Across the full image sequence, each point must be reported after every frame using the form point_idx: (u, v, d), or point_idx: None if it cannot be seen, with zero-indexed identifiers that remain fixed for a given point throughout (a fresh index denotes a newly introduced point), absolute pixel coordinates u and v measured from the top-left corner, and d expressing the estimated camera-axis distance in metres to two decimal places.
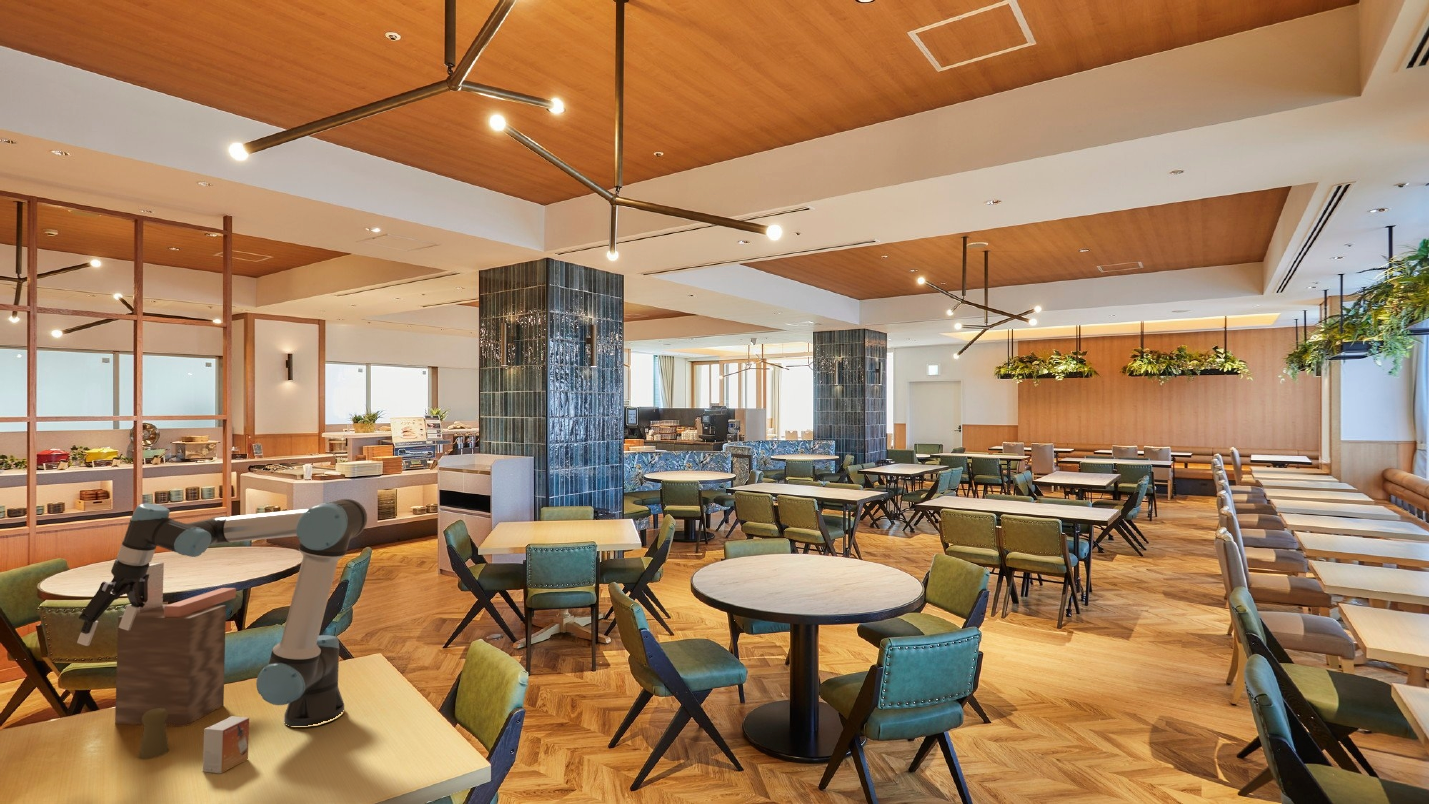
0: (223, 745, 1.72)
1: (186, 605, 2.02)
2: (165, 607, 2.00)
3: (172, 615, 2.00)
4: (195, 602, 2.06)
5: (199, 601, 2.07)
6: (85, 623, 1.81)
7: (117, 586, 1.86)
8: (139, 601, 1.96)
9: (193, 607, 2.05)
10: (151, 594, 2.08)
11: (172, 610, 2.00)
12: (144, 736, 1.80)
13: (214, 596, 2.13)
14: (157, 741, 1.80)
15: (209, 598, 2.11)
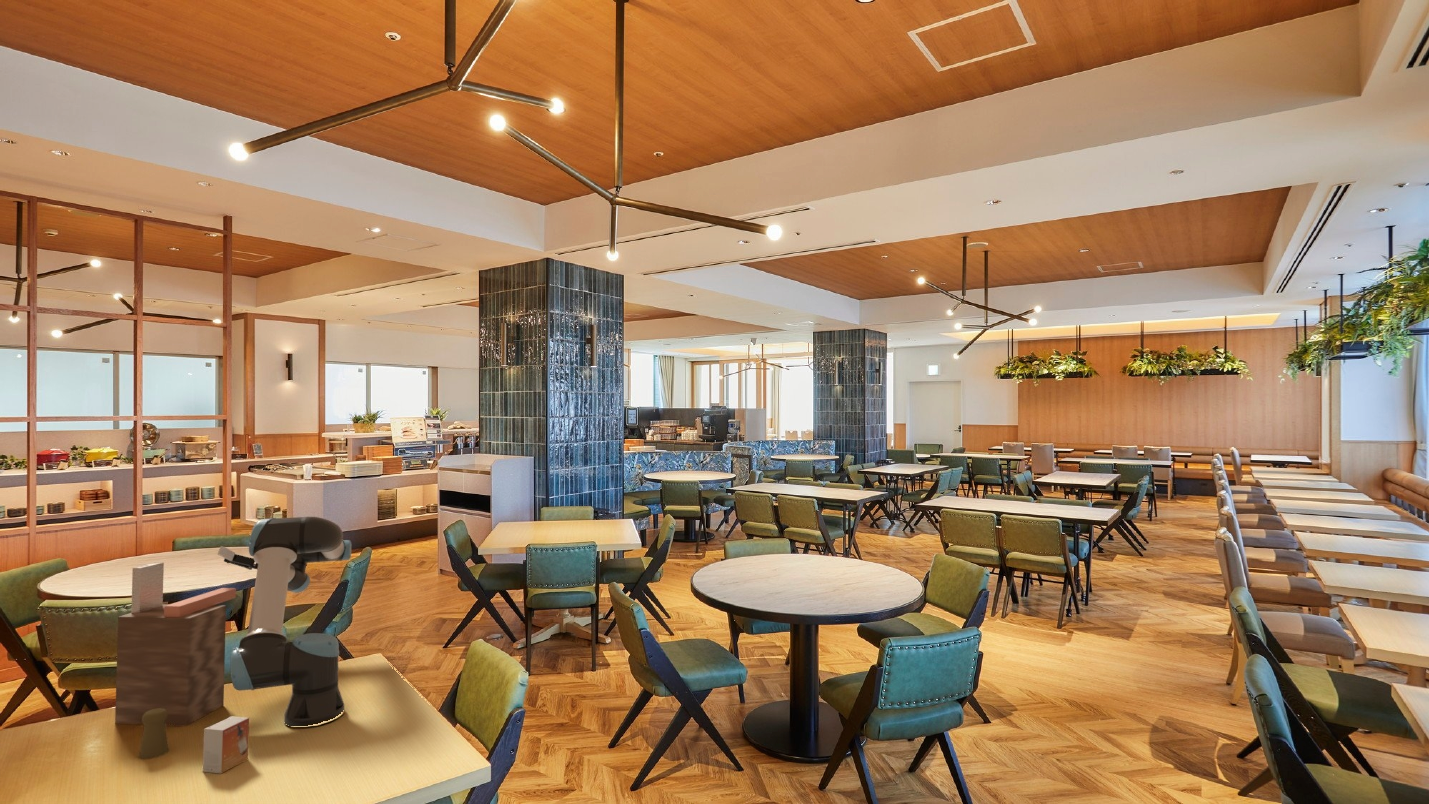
0: (223, 745, 1.72)
1: (186, 605, 2.02)
2: (165, 607, 2.00)
3: (172, 615, 2.00)
4: (195, 602, 2.06)
5: (199, 601, 2.07)
6: None
7: None
8: None
9: (193, 607, 2.05)
10: (151, 594, 2.08)
11: (172, 610, 2.00)
12: (144, 736, 1.80)
13: (214, 596, 2.13)
14: (157, 741, 1.80)
15: (209, 598, 2.11)
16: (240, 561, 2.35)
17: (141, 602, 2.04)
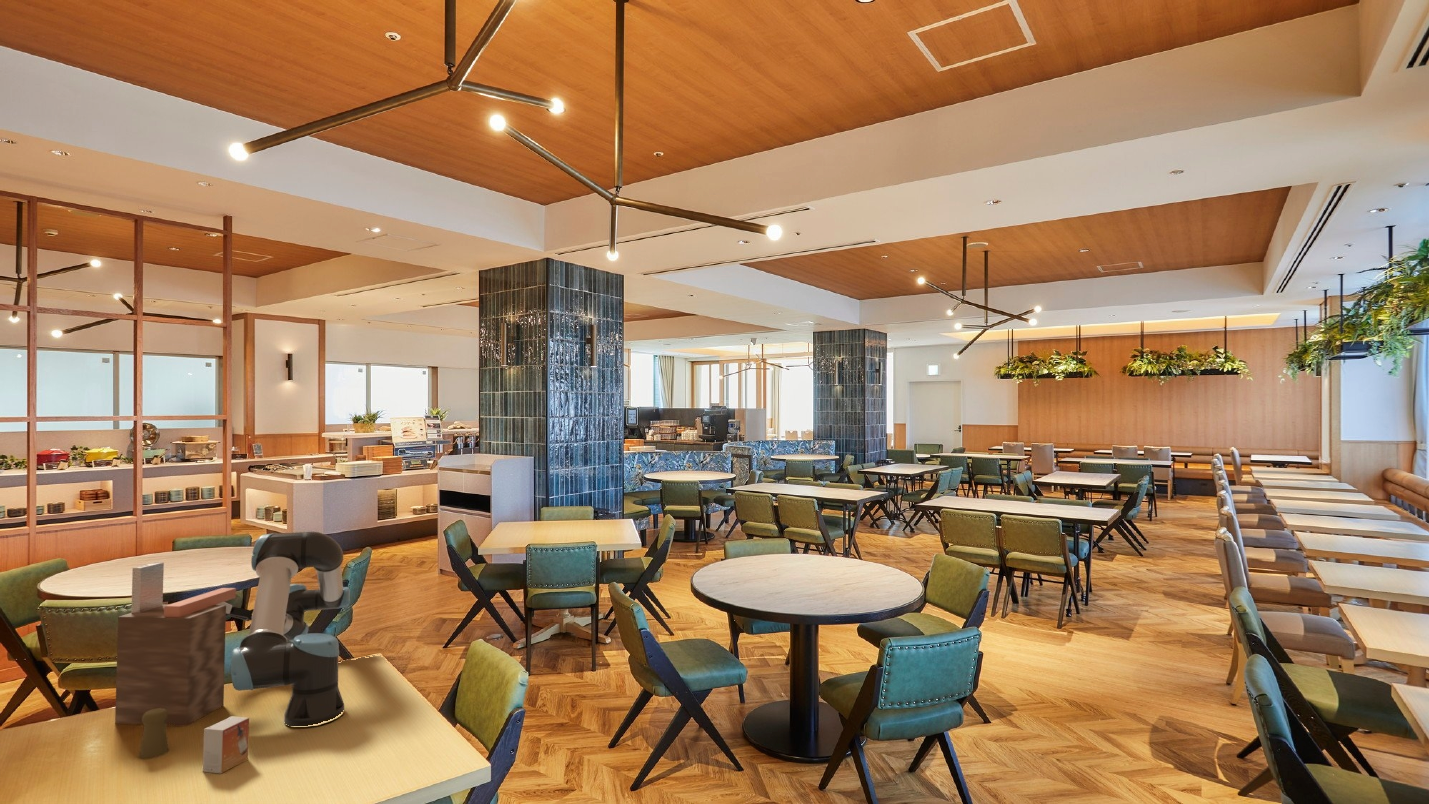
0: (223, 745, 1.72)
1: (186, 605, 2.02)
2: (165, 607, 2.00)
3: (172, 615, 2.00)
4: (195, 602, 2.06)
5: (199, 601, 2.07)
6: None
7: None
8: None
9: (193, 607, 2.05)
10: (151, 594, 2.08)
11: (172, 610, 2.00)
12: (144, 736, 1.80)
13: (214, 596, 2.13)
14: (157, 741, 1.80)
15: (209, 598, 2.11)
16: (237, 614, 2.34)
17: (141, 602, 2.04)
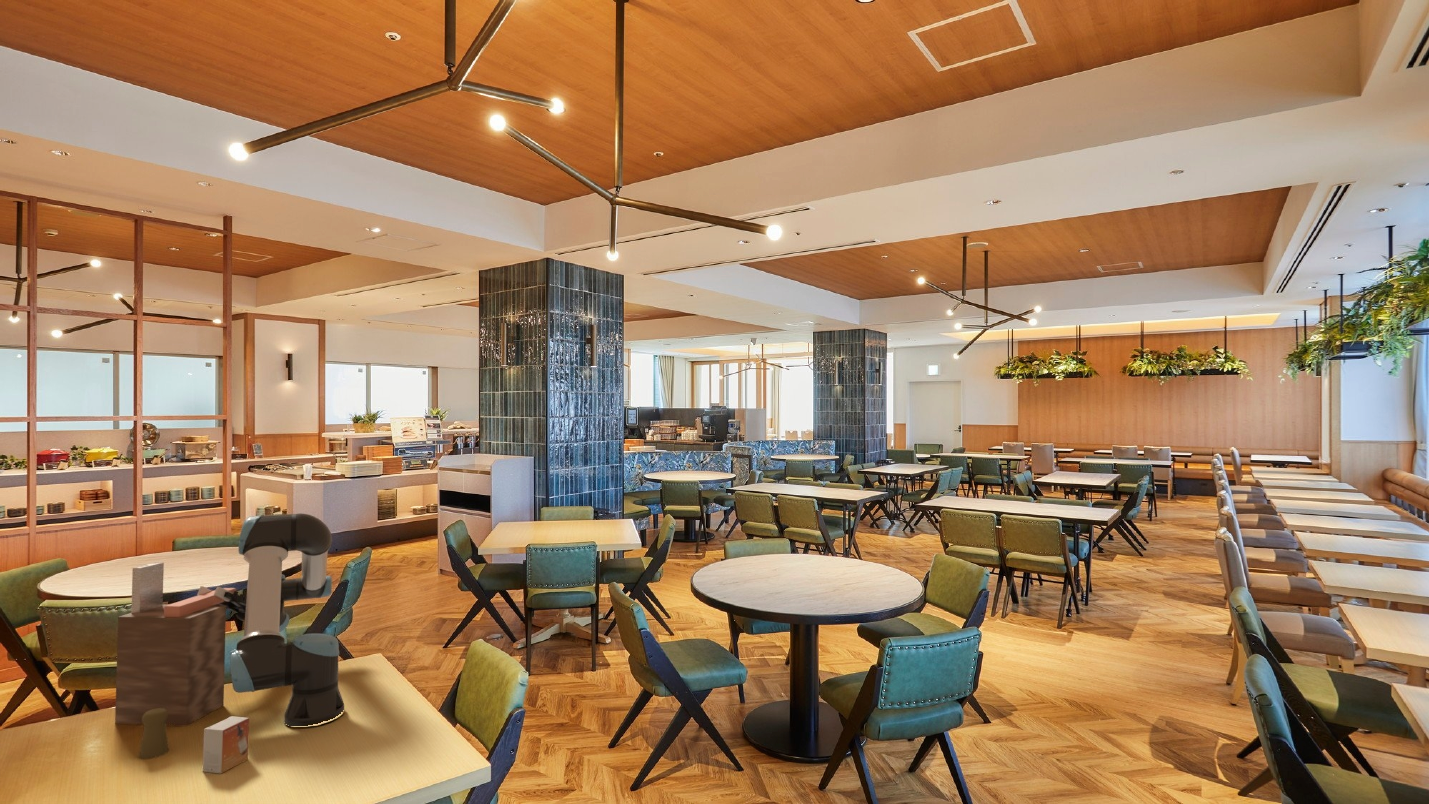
0: (223, 745, 1.72)
1: (186, 605, 2.02)
2: (165, 607, 2.00)
3: (172, 615, 2.00)
4: (195, 602, 2.06)
5: (199, 601, 2.07)
6: None
7: None
8: None
9: (193, 607, 2.05)
10: (151, 594, 2.08)
11: (172, 610, 2.00)
12: (144, 736, 1.80)
13: (214, 596, 2.13)
14: (157, 741, 1.80)
15: (209, 598, 2.11)
16: None
17: (141, 602, 2.04)
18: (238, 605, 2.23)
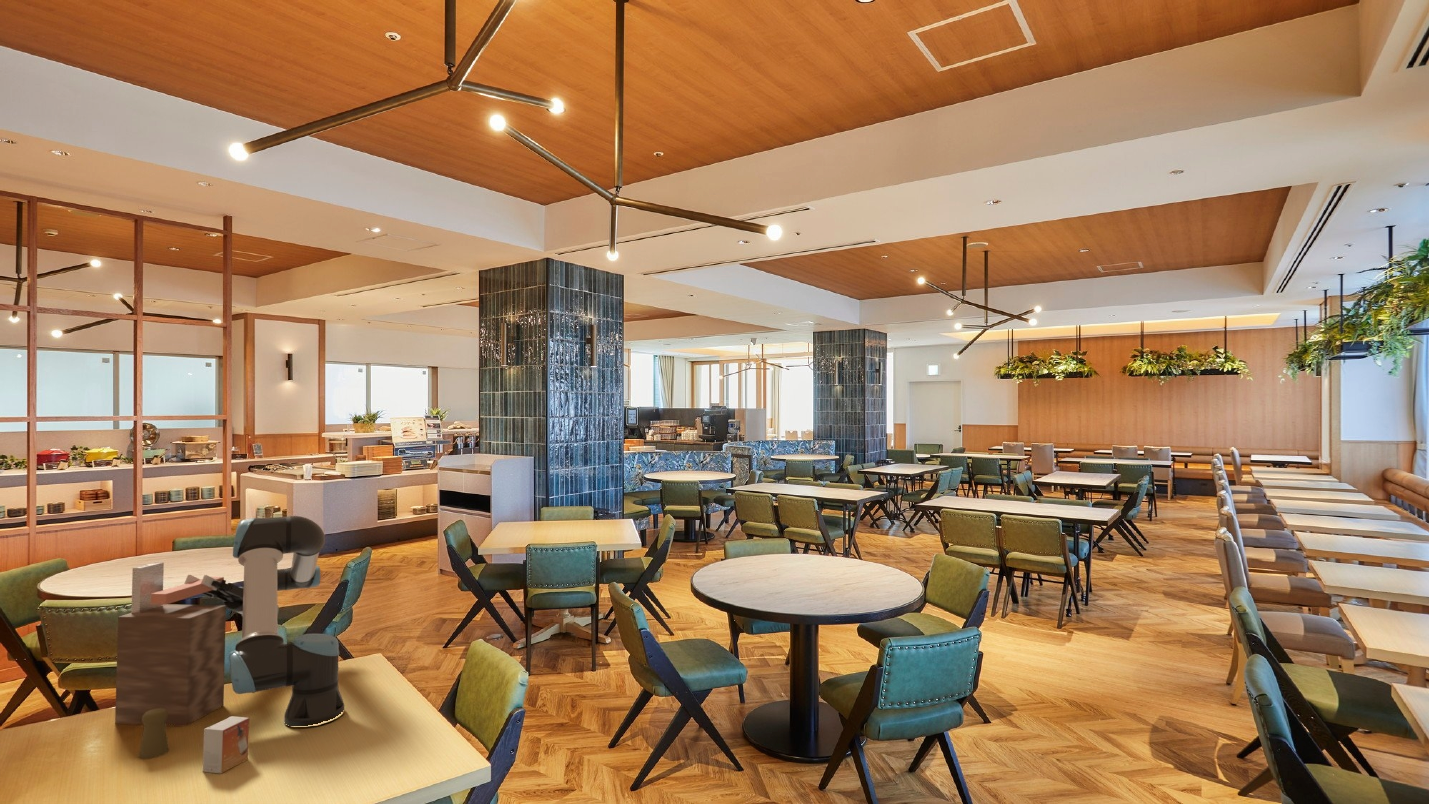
0: (223, 745, 1.72)
1: (172, 593, 2.03)
2: (151, 595, 2.01)
3: (158, 603, 2.01)
4: (182, 590, 2.07)
5: (186, 589, 2.08)
6: None
7: None
8: None
9: (180, 595, 2.06)
10: None
11: (158, 597, 2.01)
12: (144, 736, 1.80)
13: (201, 584, 2.14)
14: (157, 741, 1.80)
15: (196, 586, 2.12)
16: (208, 591, 2.22)
17: (141, 602, 2.04)
18: (226, 594, 2.23)
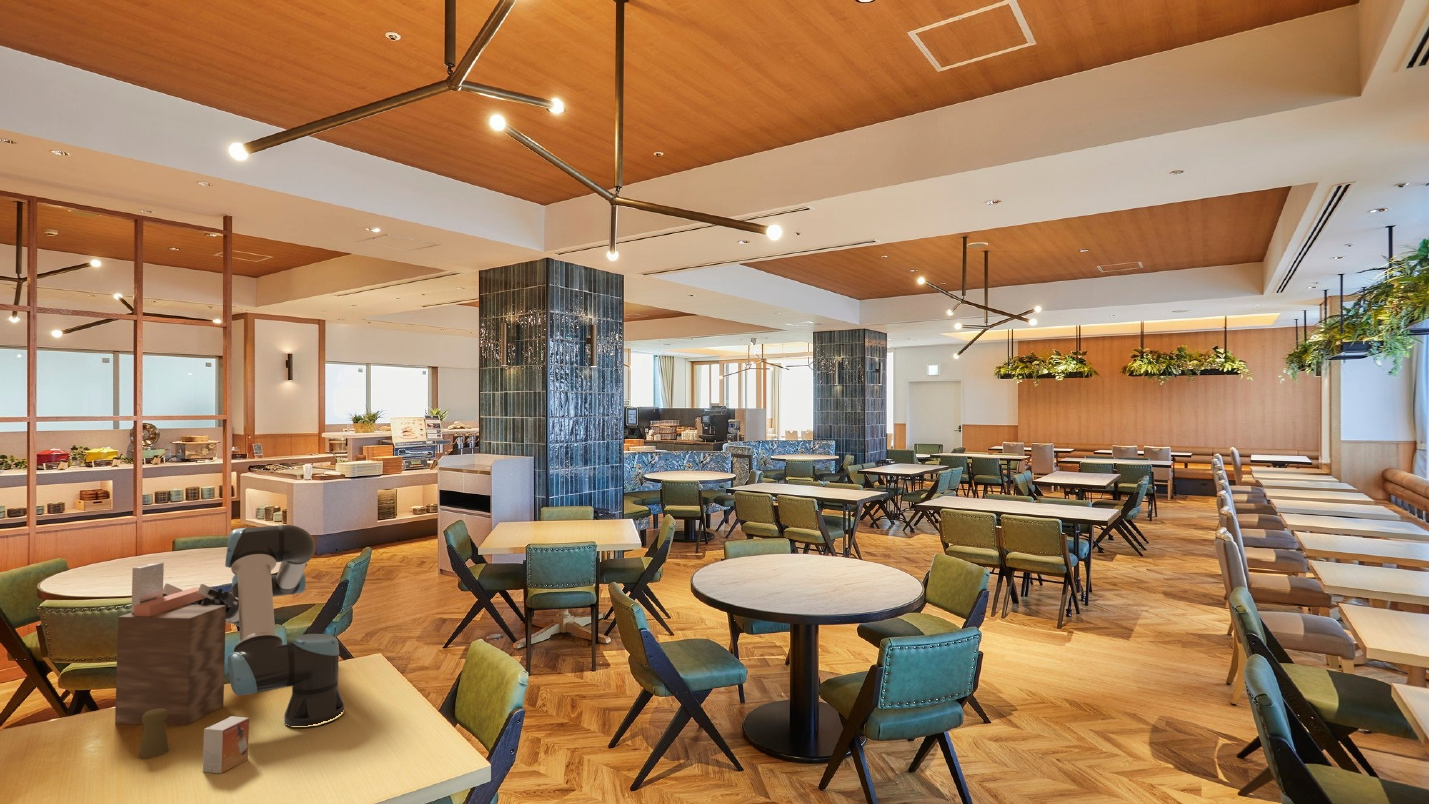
0: (223, 745, 1.72)
1: (156, 604, 2.03)
2: (135, 606, 2.01)
3: (142, 614, 2.01)
4: (166, 601, 2.06)
5: (170, 600, 2.08)
6: None
7: None
8: None
9: (164, 606, 2.06)
10: (151, 594, 2.08)
11: (142, 609, 2.01)
12: (144, 736, 1.80)
13: (186, 595, 2.14)
14: (157, 741, 1.80)
15: (180, 597, 2.12)
16: None
17: (141, 602, 2.04)
18: (217, 602, 2.24)
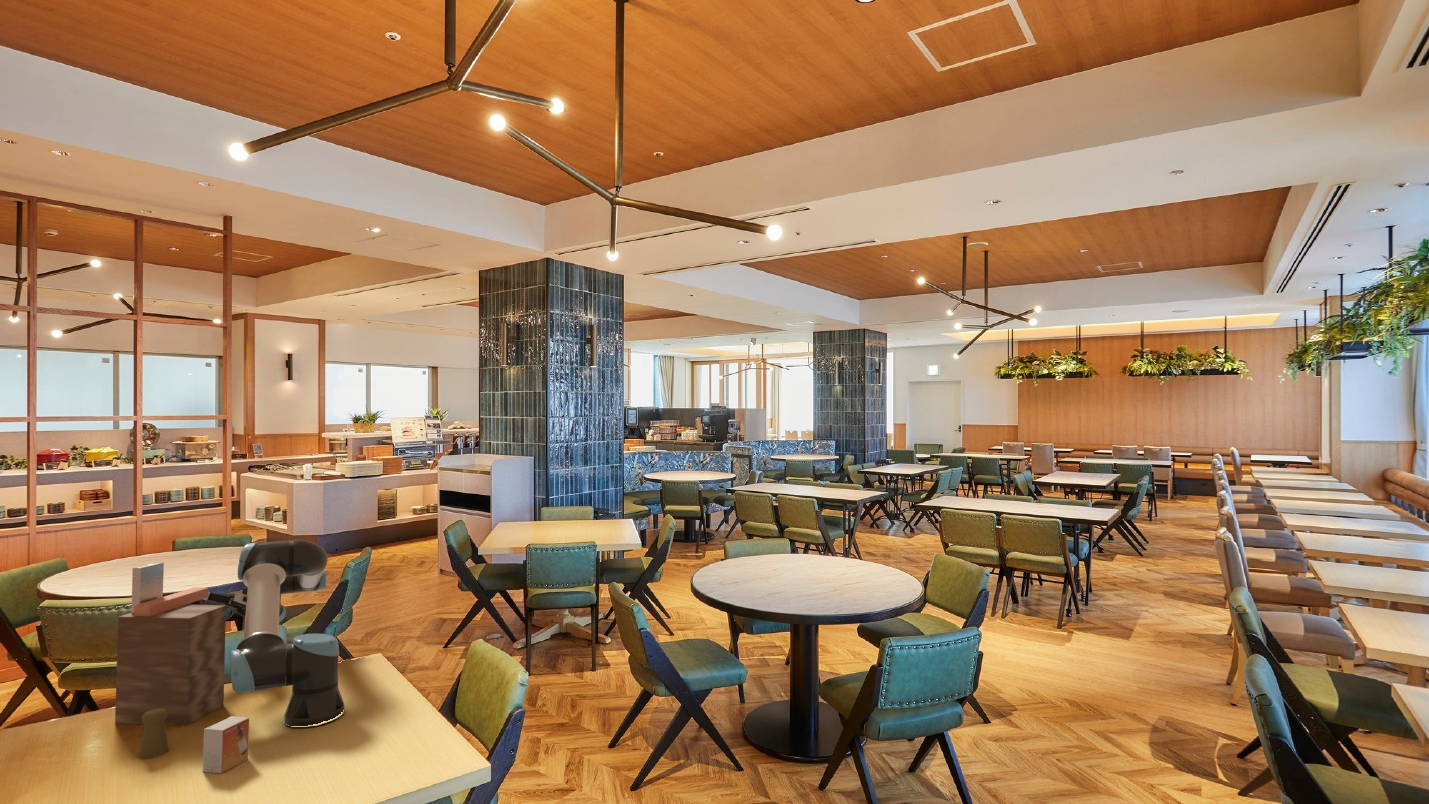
0: (223, 745, 1.72)
1: (156, 604, 2.03)
2: (135, 606, 2.01)
3: (142, 614, 2.01)
4: (166, 601, 2.06)
5: (170, 600, 2.08)
6: None
7: None
8: None
9: (164, 606, 2.06)
10: (151, 594, 2.08)
11: (142, 609, 2.01)
12: (144, 736, 1.80)
13: (186, 595, 2.14)
14: (157, 741, 1.80)
15: (180, 597, 2.12)
16: (215, 600, 2.35)
17: (141, 602, 2.04)
18: None
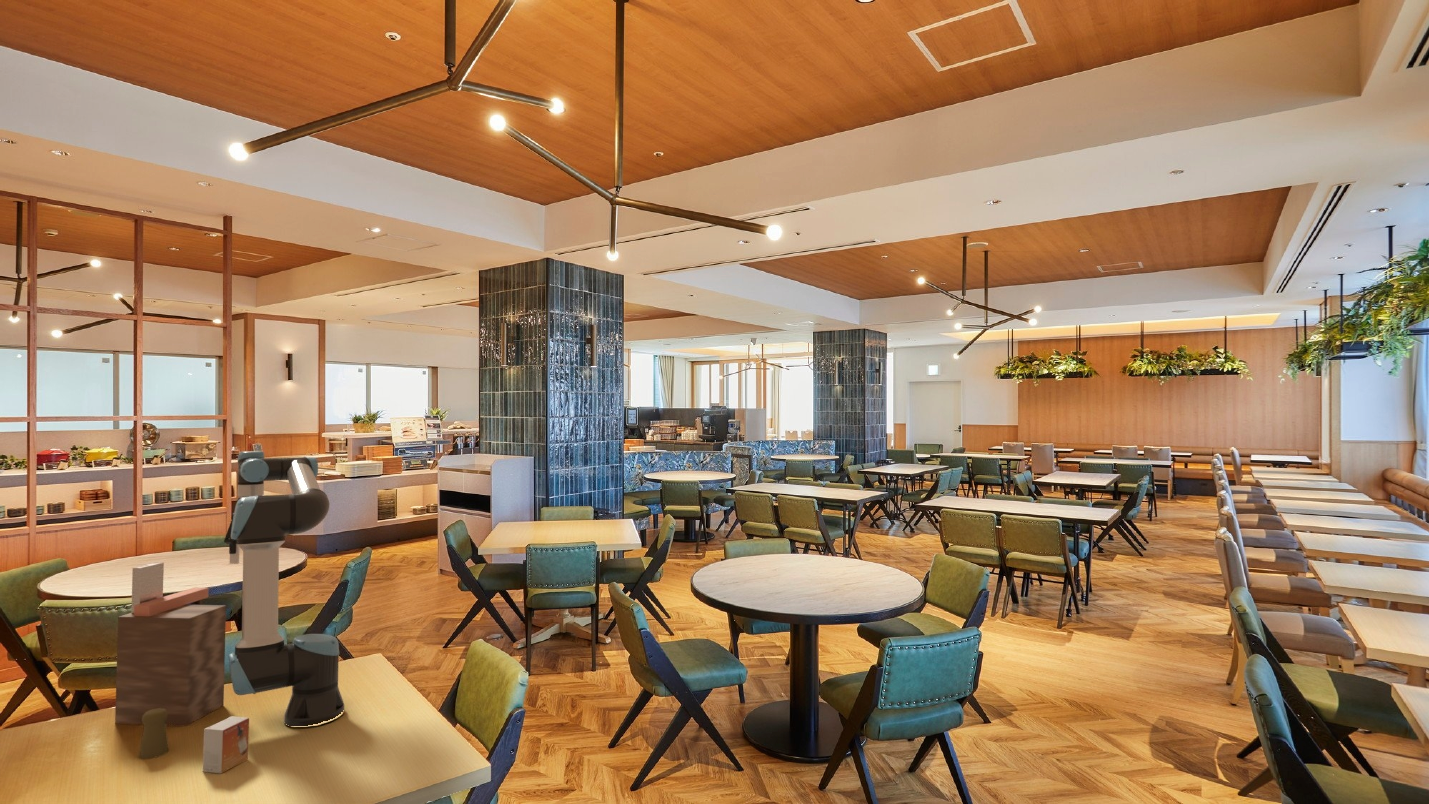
0: (223, 745, 1.72)
1: (156, 604, 2.03)
2: (135, 606, 2.01)
3: (142, 614, 2.01)
4: (166, 601, 2.06)
5: (170, 600, 2.08)
6: (230, 546, 2.31)
7: None
8: None
9: (164, 607, 2.06)
10: (151, 594, 2.08)
11: (142, 609, 2.01)
12: (144, 736, 1.80)
13: (186, 595, 2.14)
14: (157, 741, 1.80)
15: (180, 597, 2.12)
16: None
17: (141, 602, 2.04)
18: None
